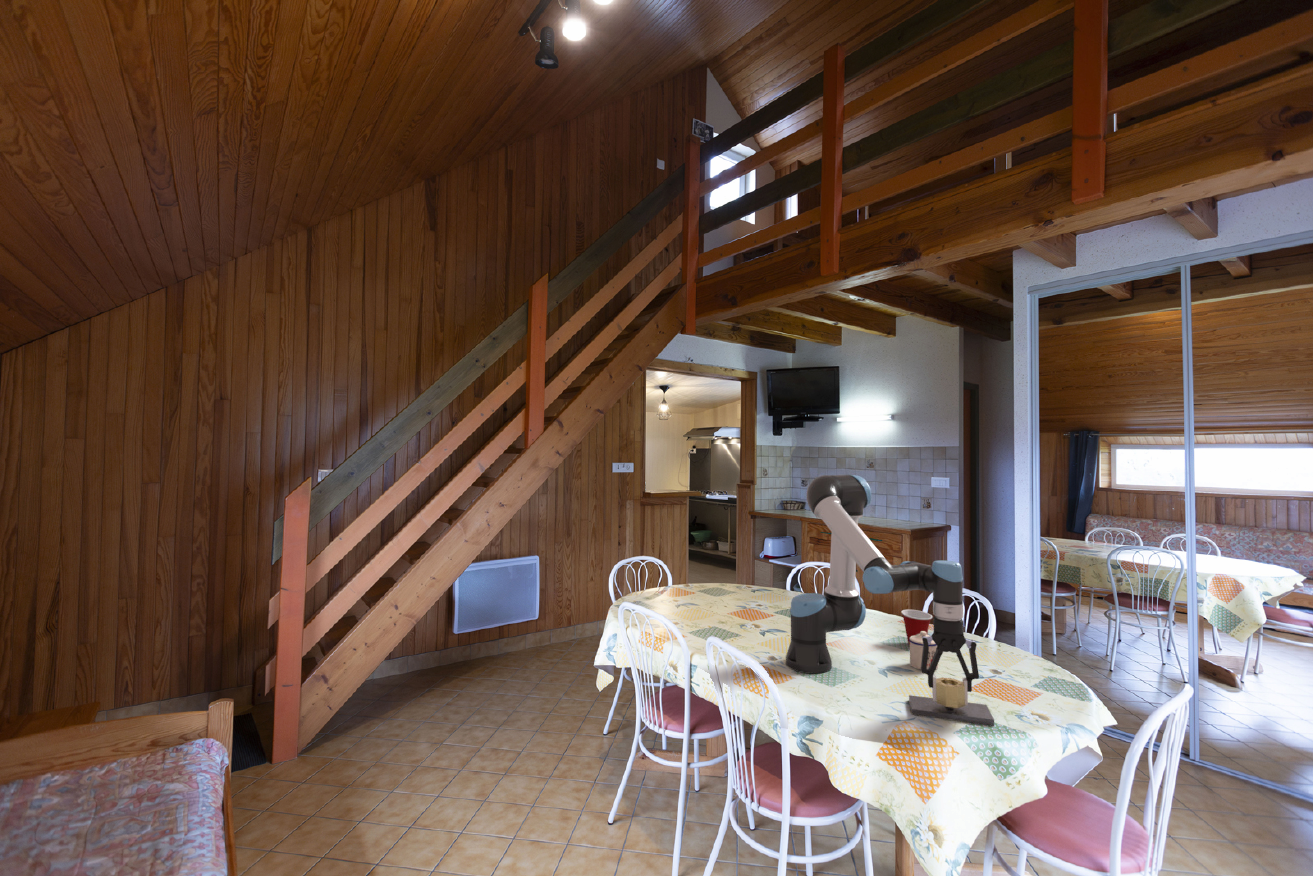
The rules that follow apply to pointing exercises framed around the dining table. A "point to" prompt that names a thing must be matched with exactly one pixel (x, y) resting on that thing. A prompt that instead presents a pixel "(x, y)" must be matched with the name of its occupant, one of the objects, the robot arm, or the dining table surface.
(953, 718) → the shaft stand
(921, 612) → the plastic cup
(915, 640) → the teacup with lid
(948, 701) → the ring
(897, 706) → the dining table surface
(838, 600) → the robot arm
